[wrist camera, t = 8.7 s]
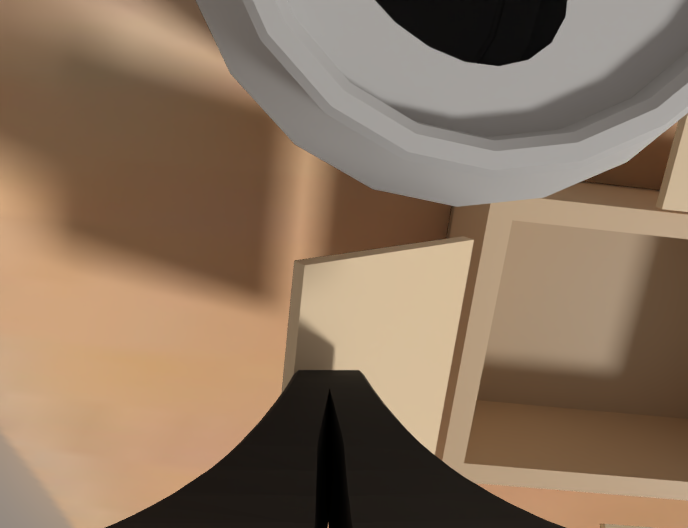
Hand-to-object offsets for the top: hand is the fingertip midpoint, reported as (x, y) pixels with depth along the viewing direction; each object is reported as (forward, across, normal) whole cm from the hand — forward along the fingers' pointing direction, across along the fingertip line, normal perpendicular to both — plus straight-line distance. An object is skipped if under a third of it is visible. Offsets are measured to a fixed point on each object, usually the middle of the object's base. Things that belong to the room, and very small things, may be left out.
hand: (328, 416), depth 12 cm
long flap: (+2, -1, 0) cm, 2 cm away
